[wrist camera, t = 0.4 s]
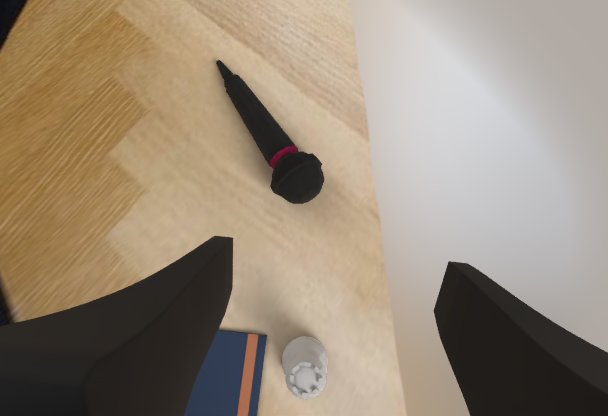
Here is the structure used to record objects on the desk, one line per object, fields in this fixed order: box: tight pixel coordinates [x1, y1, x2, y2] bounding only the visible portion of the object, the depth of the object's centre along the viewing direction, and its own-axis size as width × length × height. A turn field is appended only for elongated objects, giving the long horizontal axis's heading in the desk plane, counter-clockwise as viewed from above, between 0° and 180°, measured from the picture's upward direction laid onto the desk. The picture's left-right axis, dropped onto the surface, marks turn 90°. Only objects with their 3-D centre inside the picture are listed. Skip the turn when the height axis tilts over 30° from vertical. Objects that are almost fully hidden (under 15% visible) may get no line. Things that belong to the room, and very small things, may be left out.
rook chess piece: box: [282, 336, 328, 399], centre depth 31 cm, size 4×4×8 cm
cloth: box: [184, 330, 267, 416], centre depth 34 cm, size 15×9×1 cm, turn 174°
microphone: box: [216, 60, 324, 204], centre depth 39 cm, size 6×6×20 cm
